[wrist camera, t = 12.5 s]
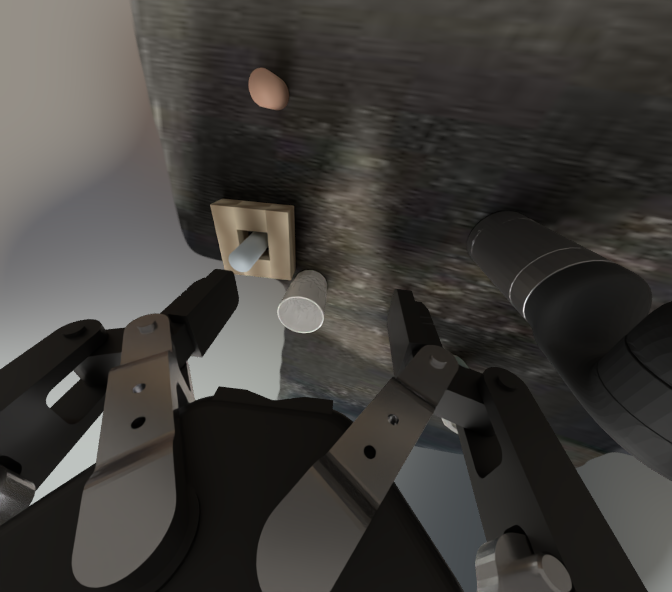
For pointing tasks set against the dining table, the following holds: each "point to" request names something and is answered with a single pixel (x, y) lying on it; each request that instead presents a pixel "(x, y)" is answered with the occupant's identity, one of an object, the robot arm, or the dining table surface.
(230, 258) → the long dowel
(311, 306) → the white cup
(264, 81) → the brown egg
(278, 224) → the hole block
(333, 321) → the dining table surface
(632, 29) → the dining table surface
